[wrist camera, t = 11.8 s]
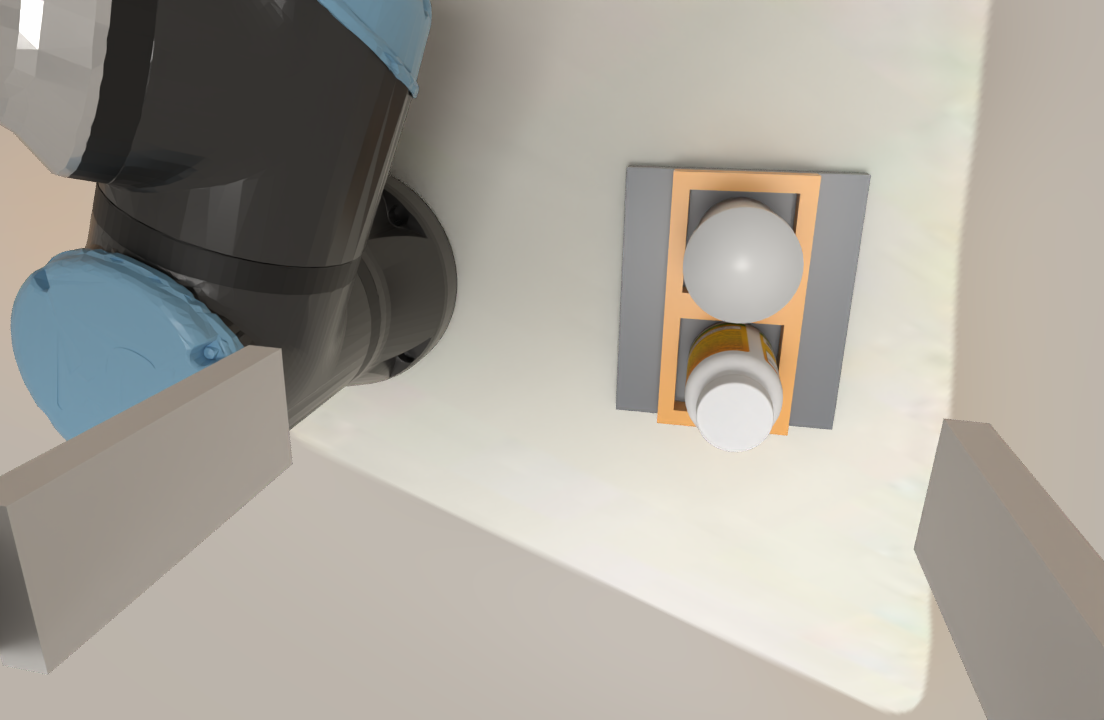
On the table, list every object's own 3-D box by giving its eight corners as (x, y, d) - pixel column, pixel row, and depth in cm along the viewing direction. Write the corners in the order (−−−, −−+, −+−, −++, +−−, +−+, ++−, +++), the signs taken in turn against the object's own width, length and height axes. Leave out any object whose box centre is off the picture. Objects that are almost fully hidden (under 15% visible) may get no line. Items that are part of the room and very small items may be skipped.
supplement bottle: (672, 374, 49) (663, 434, 40) (714, 304, 47) (714, 351, 38) (746, 413, 49) (753, 482, 40) (791, 344, 47) (808, 401, 38)
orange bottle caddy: (618, 402, 52) (598, 460, 43) (629, 165, 46) (609, 180, 38) (829, 422, 49) (851, 488, 41) (866, 173, 44) (901, 190, 35)
